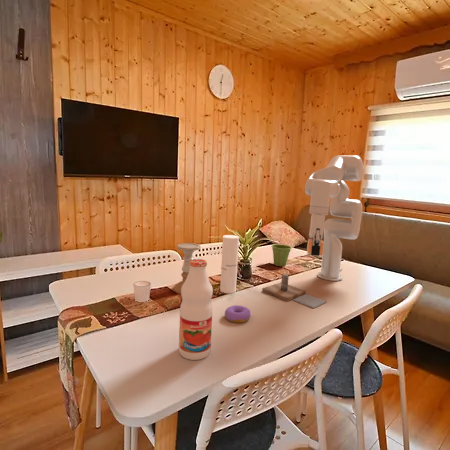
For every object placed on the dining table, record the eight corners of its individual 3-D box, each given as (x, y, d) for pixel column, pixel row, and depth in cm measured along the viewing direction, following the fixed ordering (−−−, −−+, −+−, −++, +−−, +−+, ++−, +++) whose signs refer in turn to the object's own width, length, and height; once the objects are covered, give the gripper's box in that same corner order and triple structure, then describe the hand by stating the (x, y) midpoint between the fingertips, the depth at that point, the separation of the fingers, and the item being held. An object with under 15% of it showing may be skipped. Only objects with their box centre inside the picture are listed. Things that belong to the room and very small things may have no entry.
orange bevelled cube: (307, 250, 137) (308, 238, 136) (321, 251, 136) (322, 240, 135) (307, 253, 131) (308, 241, 130) (322, 255, 130) (324, 243, 129)
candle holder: (206, 289, 144) (208, 246, 141) (185, 296, 135) (187, 250, 132) (188, 282, 153) (190, 241, 149) (167, 288, 144) (168, 244, 140)
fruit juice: (204, 341, 101) (207, 255, 96) (215, 357, 93) (219, 264, 88) (175, 346, 97) (177, 257, 93) (184, 363, 89) (187, 267, 84)
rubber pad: (306, 295, 144) (306, 294, 144) (326, 302, 137) (326, 301, 137) (293, 300, 137) (293, 299, 137) (313, 308, 130) (313, 307, 130)
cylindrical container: (234, 294, 141) (237, 238, 137) (218, 292, 142) (221, 237, 138) (237, 288, 148) (240, 235, 144) (222, 286, 149) (224, 234, 145)
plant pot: (291, 268, 184) (293, 249, 182) (271, 267, 184) (272, 248, 182) (288, 262, 196) (289, 244, 194) (268, 261, 196) (270, 243, 194)
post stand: (280, 285, 155) (282, 268, 154) (305, 294, 145) (307, 276, 144) (262, 291, 146) (263, 274, 144) (287, 301, 136) (288, 283, 134)
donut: (234, 309, 125) (237, 298, 124) (253, 321, 120) (256, 310, 119) (218, 317, 118) (221, 306, 116) (237, 330, 112) (240, 319, 111)
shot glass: (153, 298, 132) (154, 282, 131) (144, 304, 126) (144, 287, 124) (139, 295, 134) (139, 279, 133) (129, 301, 128) (129, 284, 127)
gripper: (308, 207, 139) (304, 247, 142) (310, 212, 123) (306, 257, 126) (326, 208, 138) (322, 249, 141) (330, 213, 121) (325, 259, 124)
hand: (314, 252), depth 133 cm, fingers closed on orange bevelled cube, 6 cm apart
